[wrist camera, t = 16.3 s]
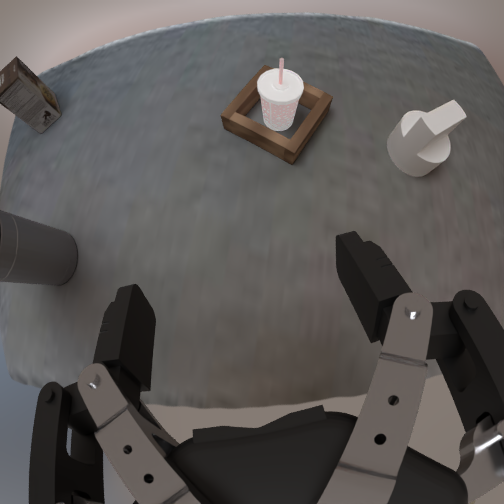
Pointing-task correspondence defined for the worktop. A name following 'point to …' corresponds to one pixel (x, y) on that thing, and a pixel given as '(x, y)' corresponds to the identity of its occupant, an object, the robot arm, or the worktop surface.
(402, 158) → the cylinder with rectangular tab
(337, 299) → the worktop surface
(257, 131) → the walnut collar
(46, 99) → the coffee box
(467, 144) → the worktop surface
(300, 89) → the beverage cup
